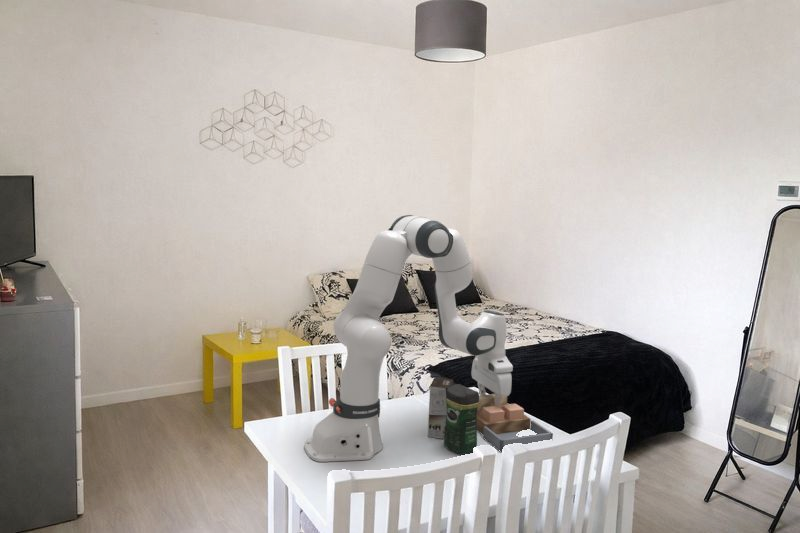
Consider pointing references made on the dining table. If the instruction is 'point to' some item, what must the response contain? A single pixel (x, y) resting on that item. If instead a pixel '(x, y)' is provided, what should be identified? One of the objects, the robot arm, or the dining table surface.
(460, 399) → the coffee jar
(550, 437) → the tray
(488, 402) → the beige wooden block
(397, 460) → the dining table surface
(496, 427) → the board
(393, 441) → the dining table surface
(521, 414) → the tile
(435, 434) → the coffee box
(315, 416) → the dining table surface
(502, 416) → the tile
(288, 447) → the dining table surface
